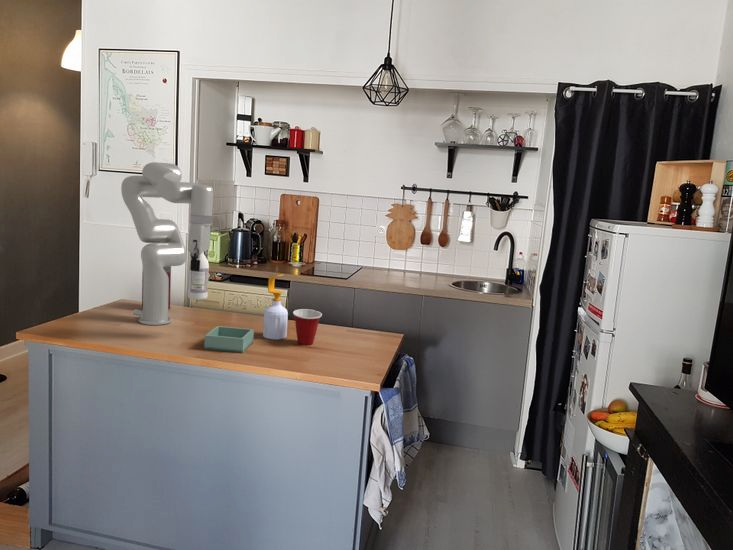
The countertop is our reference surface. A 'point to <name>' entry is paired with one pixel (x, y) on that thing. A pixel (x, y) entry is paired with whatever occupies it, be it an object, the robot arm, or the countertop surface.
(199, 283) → the bath foam
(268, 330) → the soap bottle
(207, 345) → the tub
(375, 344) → the countertop surface
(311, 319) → the plastic cup
